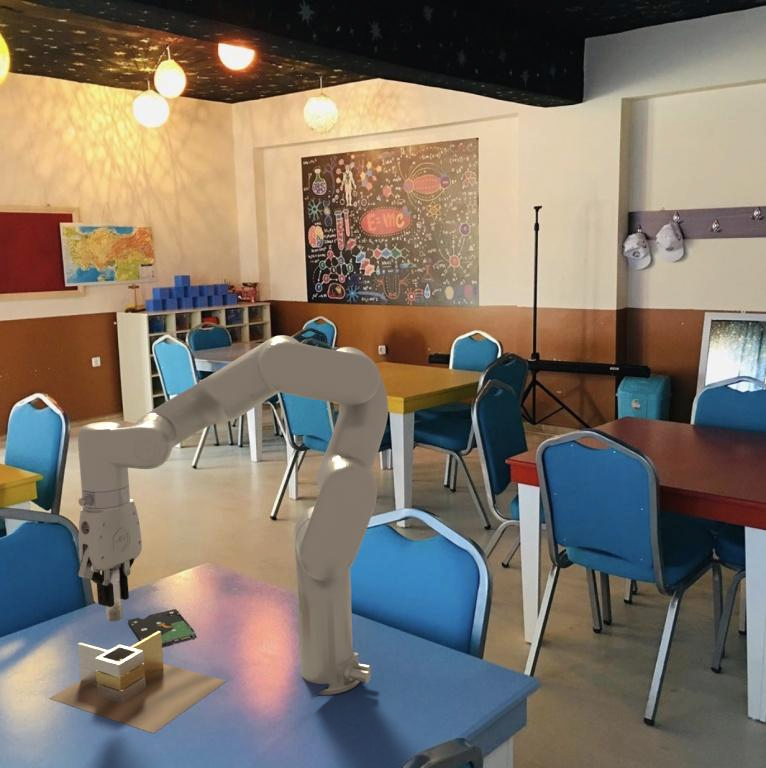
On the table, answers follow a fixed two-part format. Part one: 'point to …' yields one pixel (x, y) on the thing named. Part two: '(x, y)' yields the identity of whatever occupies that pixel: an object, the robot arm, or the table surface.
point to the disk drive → (163, 627)
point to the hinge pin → (115, 596)
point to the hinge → (121, 667)
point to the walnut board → (145, 698)
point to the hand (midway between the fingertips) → (113, 600)
